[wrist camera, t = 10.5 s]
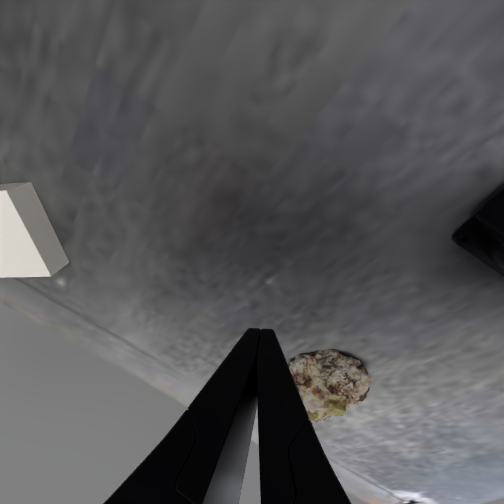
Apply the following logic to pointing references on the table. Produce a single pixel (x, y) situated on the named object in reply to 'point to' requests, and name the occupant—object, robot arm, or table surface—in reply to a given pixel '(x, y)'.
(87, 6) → the table surface
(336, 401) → the mineral rock
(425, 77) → the table surface
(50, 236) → the tile
